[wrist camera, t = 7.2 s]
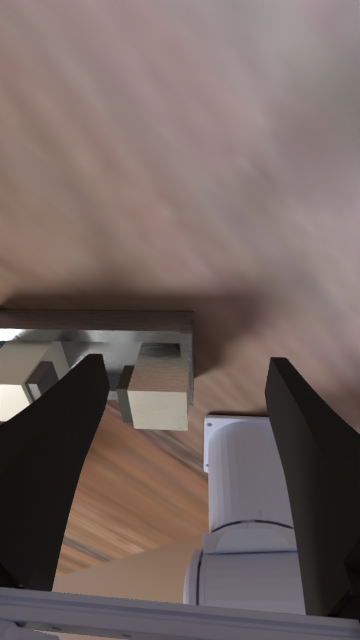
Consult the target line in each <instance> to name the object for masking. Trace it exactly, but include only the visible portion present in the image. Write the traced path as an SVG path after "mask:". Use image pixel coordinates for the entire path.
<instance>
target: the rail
mask: <svg viewBox="0 0 360 640" xmlns="http://www.w3.org/2000/svg"><path fill="white" fill-rule="evenodd" d="M8 340H20V341H61V344H62V347H63V350H64V353H65V357H66V360H67V363H68V366H69V371H70V370H71V369H72V368H73V367H74V366H76V365H77V364H78V363H79V362H80V361H81V360H82V359H83V358H84V357H85V356H86V355H88V354H102V355H103V359H104V363H105V368H106V372H107V376H108V380H109V385H110V390H109V394H108V398H107V400H119V404H120V409H121V414H122V418H123V422H129V423H133V424H134V428H137V429H160V430H184V431H188V416H189V405H193V391H194V331H193V311H93V310H0V349H1V348H2V346H3V345H4V344H5V343H6V342H7V341H8ZM69 371H68V372H69Z"/></svg>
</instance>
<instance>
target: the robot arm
mask: <svg viewBox="0 0 360 640" xmlns="http://www.w3.org/2000/svg"><path fill="white" fill-rule="evenodd" d="M109 390H110V385H109V380H108V376H107V372H106V368H105V363H104V359H103V355H102V354H88V355H86V356H85V357H84V358H83V359H82V360H81V361H80V362H79V363H78V364H77V365H76V366H74V367H73V368H72V369H71V370H70V371H69V372H68V373H67V374H66V375H65V376H63V377H62V378H61V379H60V380H59V381H58V382H57V383H56V384H54V385H53V386H52V387H51V388H50V389H48V390H47V391H46V392H45V393H44V394H42V395H41V396H40V397H39V398H37V399H36V400H35V401H34V402H33V403H31V404H30V405H29V406H27V407H26V408H25V409H23V410H22V411H20V412H19V413H18V414H16V415H15V416H13V417H12V418H10V419H9V420H8V421H6V422H5V423H3V424H1V425H0V640H59V638H58V636H56V635H51V634H47V633H43V632H39V631H34V630H41V631H51V632H60V633H70V634H80V635H89V636H99V637H109V638H119V639H128V640H360V434H359V433H358V432H356V431H355V430H354V429H353V428H352V427H351V426H349V425H348V424H347V423H346V422H345V421H344V420H343V419H342V418H341V417H340V416H338V415H337V414H336V413H335V412H334V411H333V410H332V409H331V408H330V407H329V406H328V405H327V404H326V403H325V401H324V400H323V399H322V398H321V397H320V396H319V395H318V394H317V393H316V392H315V391H314V390H313V389H312V387H311V386H310V385H309V384H308V383H307V382H306V381H305V379H304V378H303V377H302V376H301V375H300V374H299V372H298V371H297V370H296V369H295V368H294V366H293V365H292V364H291V363H290V362H289V360H288V359H287V358H283V357H271V359H270V365H269V371H268V376H267V382H266V387H265V398H266V405H267V411H268V416H269V417H251V416H224V415H207V416H206V417H205V426H204V471H205V472H207V473H208V476H209V533H206V534H203V549H197V550H196V551H195V552H194V554H193V556H192V558H191V560H190V561H189V564H188V566H187V570H186V575H185V582H184V596H183V599H184V600H183V604H179V603H168V602H157V601H145V600H136V599H135V600H134V599H125V598H114V597H102V596H91V595H81V594H70V593H58V592H51V591H52V587H53V582H54V578H55V573H56V568H57V564H58V559H59V554H60V550H61V545H62V541H63V537H64V533H65V529H66V525H67V521H68V516H69V513H70V509H71V505H72V501H73V498H74V494H75V490H76V487H77V483H78V480H79V476H80V473H81V469H82V466H83V463H84V461H85V458H86V455H87V453H88V450H89V448H90V445H91V443H92V440H93V438H94V435H95V433H96V430H97V428H98V425H99V422H100V420H101V417H102V415H103V412H104V409H105V406H106V402H107V398H108V394H109ZM30 629H31V630H30Z"/></svg>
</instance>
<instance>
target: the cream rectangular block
mask: <svg viewBox="0 0 360 640" xmlns="http://www.w3.org/2000/svg"><path fill="white" fill-rule="evenodd" d="M68 371H69V366H68V363H67V360H66V357H65V353H64V350H63V347H62V344H61V341H20V340H8V341H7V342H6V343H5V344H4V345H3V346H2V348H1V349H0V421H8V420H9V419H10V418H12V417H13V416H15V415H16V414H18V413H19V412H20V411H22V410H23V409H25V408H26V407H27V406H29V405H30V404H31V403H33V402H34V401H35V400H36V399H37V398H39V397H40V396H41V395H42V394H44V393H45V392H46V391H47V390H48V389H50V388H51V387H52V386H53V385H54V384H56V383H57V382H58V381H59V380H60V379H61V378H62V377H63V376H65V375H66V374H67V373H68Z"/></svg>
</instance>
